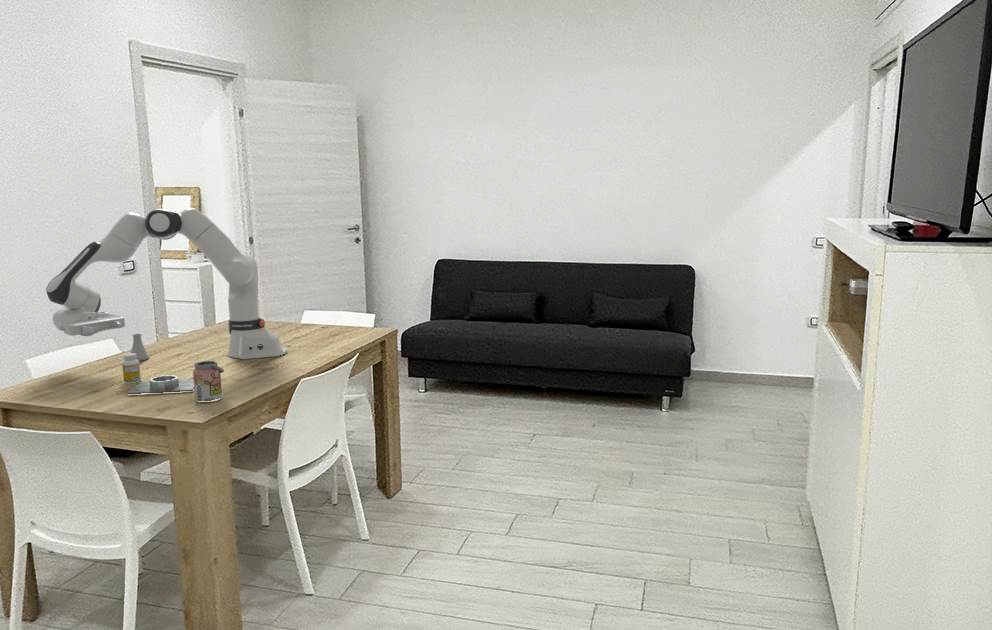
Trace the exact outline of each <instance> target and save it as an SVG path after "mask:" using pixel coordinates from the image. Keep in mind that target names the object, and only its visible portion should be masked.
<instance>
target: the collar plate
mask: <svg viewBox="0 0 992 630" xmlns="http://www.w3.org/2000/svg"><path fill="white" fill-rule="evenodd" d="M193 389H194V380H193V378H189V379H180V378H179V376H177V375H173V374H168V375H167V374H165V375H158V376H154V377H152V378H149V381H140V382H137V383H135V384H134V385H133V386H132V388H130V389H129V391H128V392H127V393H126V394H127V395H128V394H141V393H163V392H180V391H193ZM193 392H194V391H193Z"/></svg>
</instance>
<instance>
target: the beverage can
mask: <svg viewBox="0 0 992 630" xmlns="http://www.w3.org/2000/svg"><path fill="white" fill-rule="evenodd" d="M223 373H224V369H223V368H222V367H220V366H218V362H217V361H215V360H205V361H198V362H194V370H193V371H192V379H193V380H194V391H193V393H194V400H195V401H196V400H197V401H211V400H215V399H219V398H221V397H222V398H223V390H222V377H221V374H223ZM222 398H221V399H222ZM197 401H196V402H197Z"/></svg>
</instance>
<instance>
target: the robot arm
mask: <svg viewBox="0 0 992 630" xmlns="http://www.w3.org/2000/svg"><path fill="white" fill-rule="evenodd" d="M177 234H178V235H179V234H180V235H183V236H184V237H185V238H186V239H188V240H189V242H191V244H193V245H194V246H195V247H196V248H197V249H198V250H199V251H200V252H201V253H202V254H203V255H204V256H205V257H206V258H207V259H208V260H209V262H210V263H212V265H213V266H214V267H215V269H216V270H217V271H218V273H219V274H220V275H221V276H222V277H223V278H224V279H225V280H226V282H227V283H228V297H227V300H228V301H227V302H228V304H227V305H228V313H229V314H228V315H229V316H228V317H229V319H228V332H229V333H228V334H229V344H228V345H229V346H228V351H227V356H228V357H230V358H235V359H239V360H250V359H262V358H271V357H272V358H273V357H280V355H281V356H284V355H286V354H287V352H288V350H287V347H285V346H282V344H281V340H280V337H279V336H278V334H276V333H274V332H273V331H271V330H269V328H266V327H265V325H266V322H265V318H260V314H259V299H258V298H259V297H258V295H259V290H258V289H259V272H258V269H259V268H258V263H257V261H256V260H255V258H254V257H252V256H251V255H248V254H245V253H244V254H242V252H241V251H240V250H239V249H238V248H237V247H236V246H235V244H234V243H233V242H232V240H231V238H229V236H227V234H225V232H223V231H222V229H220V227H218V226H217V225H216V224H215V223H214V222H213V221H212V220H211V219H210V218H209V217H208V216H206V215H205V214H203V213H202V212H201V211H200V210H198V209H196V208H193V207H189V208H185V209H184V210H182V211H181V212H180V213H178V212H176V211H172V210H168V209H166V208H154V209H152V210H151V211H149V212H148V213H147V215H146V216H142V214H138V213H137V212H136V213H135V212H127V213H125V214H123V216H122V217H120V219H119V220H118V221H117V222H116V223H115V224H114V225H113V227H112V228H111V229H110V231H109V232H108V234H106V235H105V236H104V237H103V238H102V239H100V240H98V241H93V242H91V243H89V244H88V245H86V246H85V247H84V248H83V250H81V252H79V253H78V254H77V256H75V258H74V259H73V260H72V261H70V263H69V264H68V265H67V266H66V267H64V269H63V270H62V271H61V272H60V273H59V274H57V275H56V276H55V277H53V278H52V279H51V280H50V281H49V282H48V284H47V285H46V289H45V290H46V295H47V297H48V299H49V301H50V302H51V303H54V304H58V305H61V306H64V307H63V308H60V309H58V310H57V311H55V312H54V314H53V315H52V321H53V325H54V326H55V328H57V330H59V331H61V332H63V333H64V334H65V335H68V336H73V337H74V336H81V337H91V336H94V335H95V334H98V333H100V332H105V331H109V330H115V329H121V328H124V327H125V326H126V321H125V317H124V316H121V315H117V314H112V313H110V312H108V311H99V310H100V308H101V304H102V299H101V295H100V293H99V291H97V290H96V289H95V290H94V289H92V288H90V287H88V286H86V285H84V284H83V283H82V284H81V283H80V282H77V281H76V279H78V278H79V277H80V276H81V274H83V273H84V271H86V269H87V268H89V266H90V265H92V264H94V263H96V262H97V263H98V262H107V263H122V262H123V263H124V262H126V261H128V260H130V259H131V258H132V257H133V256H134V255H135V253H136V251H137V250H138V248H139V247H140V245H141V244H142V243H143V242H144V240H145V239H146V238H147V237H151V238H153V239H154V238H155V239H159V240H166V241H167V240H170V239H172V238H174V237H176V236H177ZM283 354H284V355H283Z"/></svg>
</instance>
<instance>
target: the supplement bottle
mask: <svg viewBox="0 0 992 630" xmlns="http://www.w3.org/2000/svg"><path fill="white" fill-rule="evenodd" d="M136 358H137V355H136V353H131V352H130V353H125V354H123V361H122V362H121V364H122V365H121V367H122V375H123V383H124V382H125V383H124V384H127V383H130V384H133V383H132V382H137V383H138V381H140V380H141V381H142V376H141V364H140V361H139V360H137V359H136ZM141 381H140V382H141Z"/></svg>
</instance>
